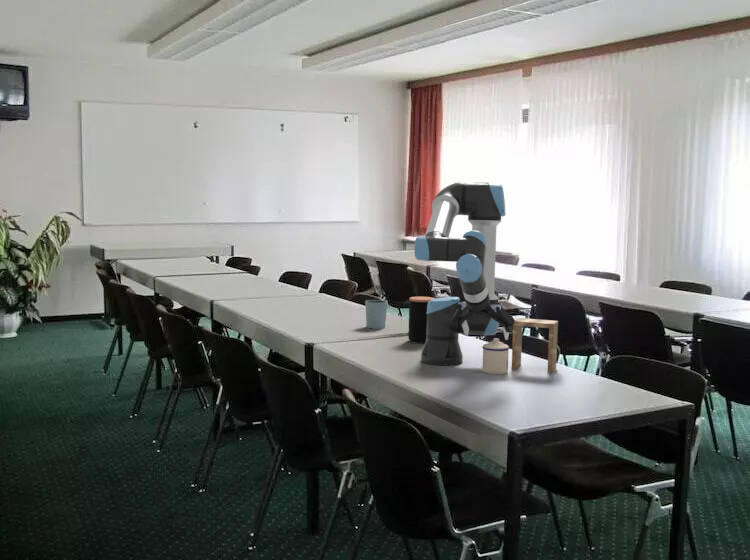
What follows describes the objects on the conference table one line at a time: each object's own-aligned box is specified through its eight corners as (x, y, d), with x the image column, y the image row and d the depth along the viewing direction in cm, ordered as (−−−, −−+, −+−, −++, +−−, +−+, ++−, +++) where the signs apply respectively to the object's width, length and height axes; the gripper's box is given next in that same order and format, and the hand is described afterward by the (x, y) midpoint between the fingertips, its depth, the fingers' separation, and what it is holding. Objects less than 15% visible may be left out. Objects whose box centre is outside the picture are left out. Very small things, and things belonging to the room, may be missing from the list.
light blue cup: (362, 328, 356) (363, 302, 355) (366, 325, 366) (367, 299, 365) (385, 329, 355) (385, 303, 353) (388, 326, 365) (389, 300, 363)
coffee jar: (438, 340, 329) (439, 297, 328) (426, 344, 320) (427, 300, 319) (416, 338, 335) (417, 295, 333) (403, 341, 326) (404, 298, 324)
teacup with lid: (512, 374, 270) (514, 340, 269) (488, 375, 267) (489, 341, 266) (497, 366, 281) (499, 334, 280) (474, 367, 279) (475, 335, 278)
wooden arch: (511, 369, 278) (513, 320, 276) (516, 364, 285) (518, 317, 284) (551, 373, 273) (553, 324, 271) (556, 368, 280) (558, 320, 278)
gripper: (435, 301, 251) (448, 340, 266) (513, 306, 241) (522, 347, 256) (441, 283, 255) (453, 322, 270) (517, 287, 245) (526, 328, 261)
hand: (487, 334), depth 263 cm, fingers open, 13 cm apart
